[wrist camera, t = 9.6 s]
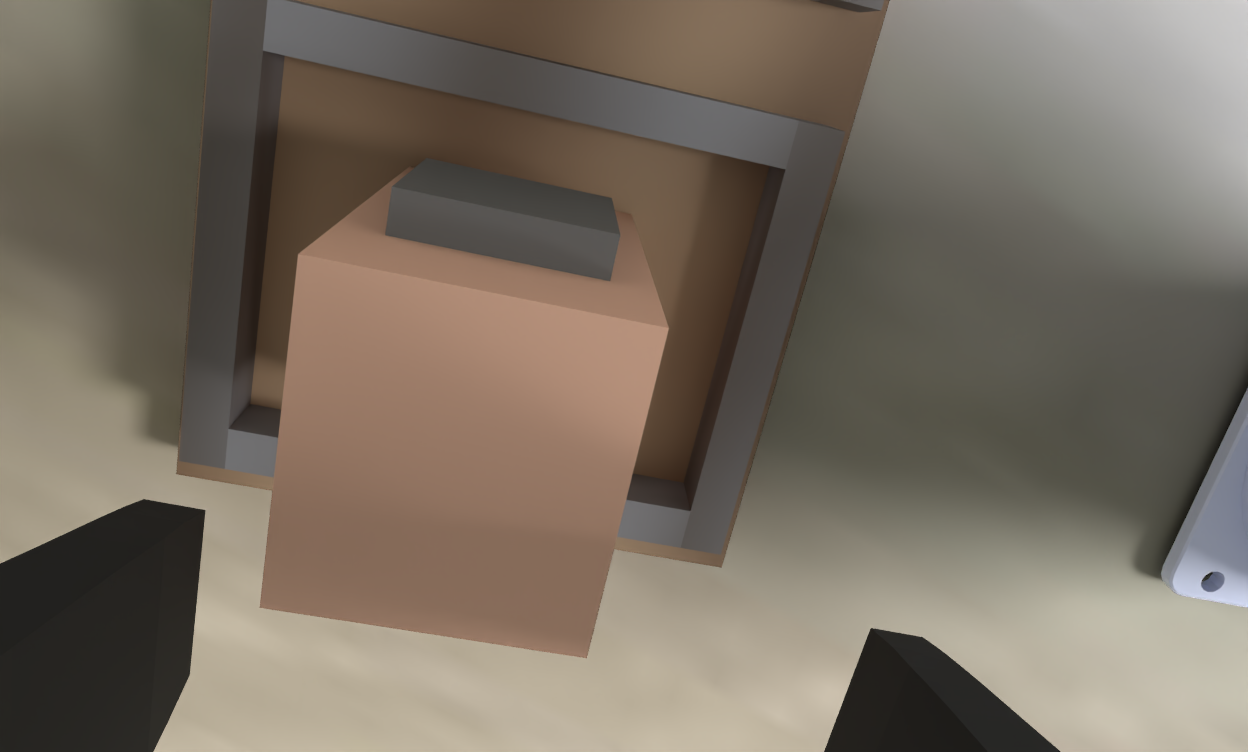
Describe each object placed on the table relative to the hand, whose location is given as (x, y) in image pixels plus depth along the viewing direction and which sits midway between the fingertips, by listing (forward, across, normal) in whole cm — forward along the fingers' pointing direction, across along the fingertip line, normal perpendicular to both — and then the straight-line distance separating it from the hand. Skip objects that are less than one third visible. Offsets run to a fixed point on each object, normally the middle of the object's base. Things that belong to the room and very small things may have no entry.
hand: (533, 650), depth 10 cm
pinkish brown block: (+8, +1, -1) cm, 8 cm away
